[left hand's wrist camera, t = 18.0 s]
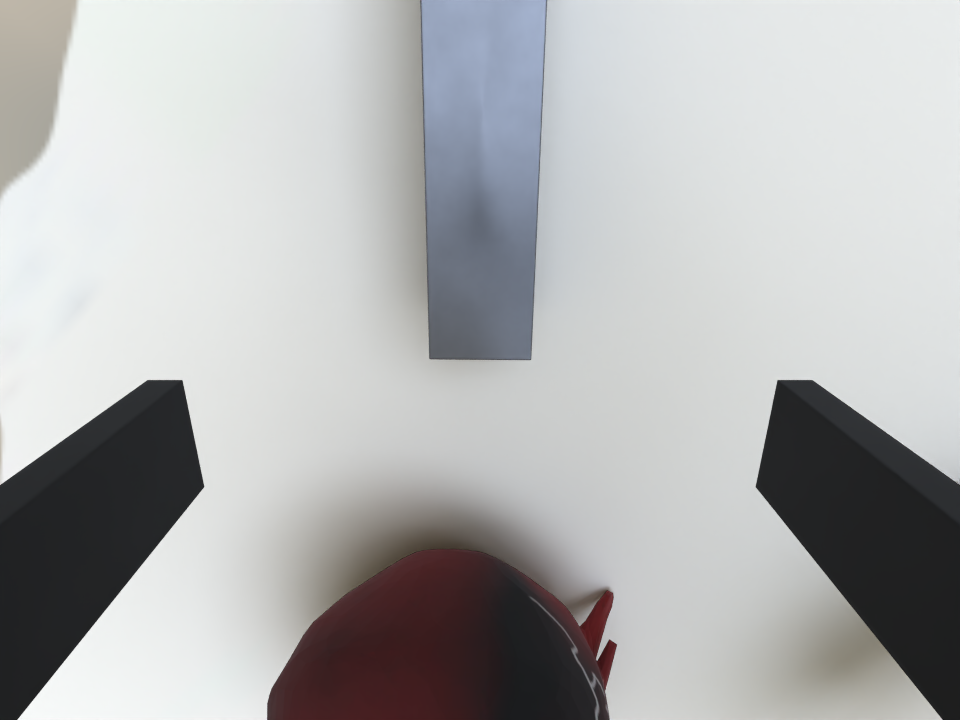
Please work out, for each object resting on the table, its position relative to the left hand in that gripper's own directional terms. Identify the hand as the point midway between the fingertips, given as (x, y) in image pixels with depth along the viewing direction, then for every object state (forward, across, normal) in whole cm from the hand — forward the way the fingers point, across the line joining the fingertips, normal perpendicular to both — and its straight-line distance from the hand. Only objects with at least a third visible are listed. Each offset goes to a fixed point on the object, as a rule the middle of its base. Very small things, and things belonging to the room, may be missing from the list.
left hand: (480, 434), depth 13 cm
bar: (+24, 0, -8) cm, 25 cm away
